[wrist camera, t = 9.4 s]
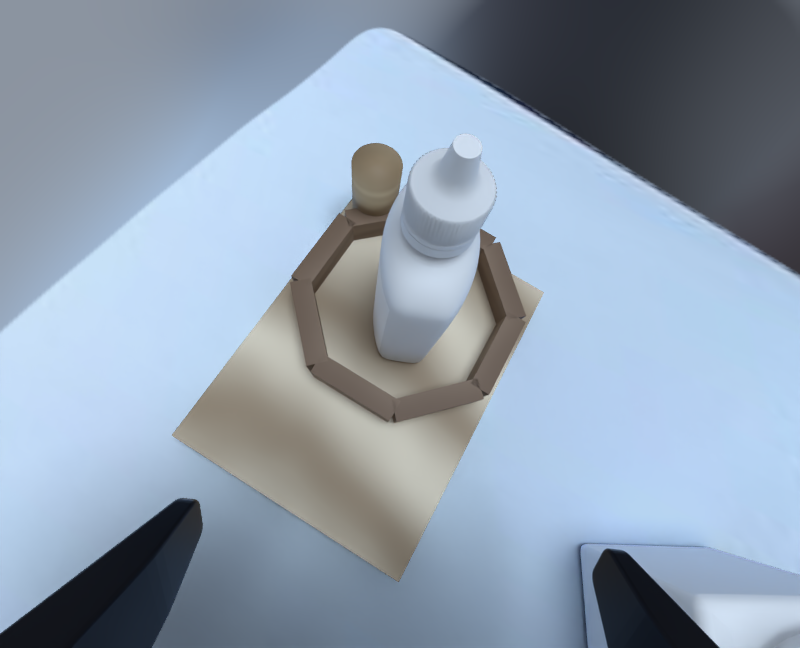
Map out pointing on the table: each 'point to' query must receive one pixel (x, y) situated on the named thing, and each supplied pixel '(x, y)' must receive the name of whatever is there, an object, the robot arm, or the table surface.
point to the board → (359, 386)
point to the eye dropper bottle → (431, 249)
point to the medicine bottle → (711, 594)
